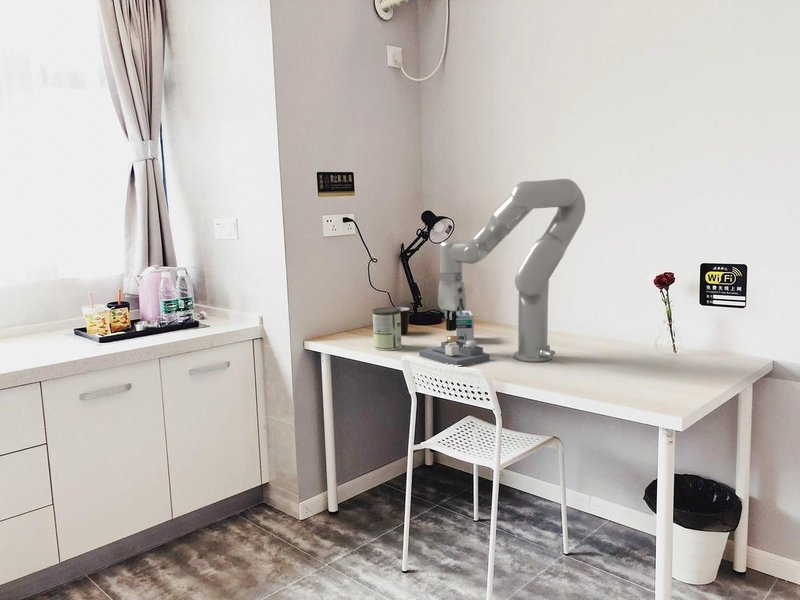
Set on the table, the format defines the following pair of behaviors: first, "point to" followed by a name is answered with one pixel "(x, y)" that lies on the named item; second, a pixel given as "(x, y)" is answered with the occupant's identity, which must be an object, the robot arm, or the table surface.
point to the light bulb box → (465, 327)
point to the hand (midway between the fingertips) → (451, 330)
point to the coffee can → (387, 328)
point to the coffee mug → (404, 319)
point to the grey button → (471, 344)
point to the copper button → (451, 339)
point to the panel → (462, 358)
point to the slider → (452, 349)
